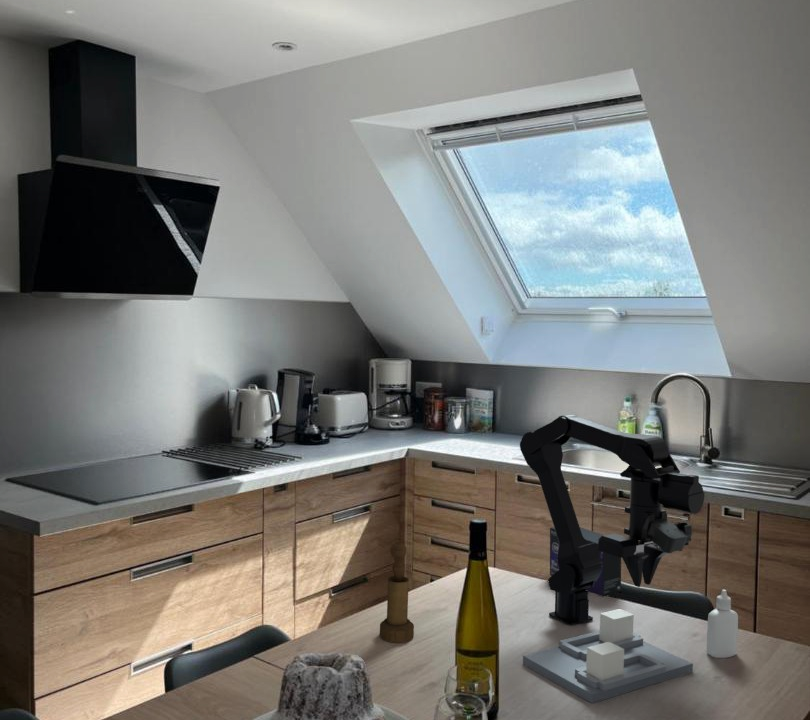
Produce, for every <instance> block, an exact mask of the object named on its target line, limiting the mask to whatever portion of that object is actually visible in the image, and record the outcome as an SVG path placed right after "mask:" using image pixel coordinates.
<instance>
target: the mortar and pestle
mask: <svg viewBox="0 0 810 720" xmlns="http://www.w3.org/2000/svg"><path fill="white" fill-rule="evenodd" d="M390 554H391V556H392V558H393V560H394V562H393V563H394V564H393V566H392V573H393V575H391V576H388V578H387V602H386V603H387V605H386V607H387V608H386V618H384V620H382V621H381V622H380V625H379V637H380V638H381V640H383V641H385V642H389V643H395V644H397V643H398V644H400V643H408V642H410V641H412V640H413V639H414V636H415V635H414V634H415V632H414V631H415V630H414V629H415V626H414V623H413V621H412V622H411V620H410V619H409V618H408V610H409V609H408V608H409V584H410V583H409V581H410V579H409V578H408V577H406V576H403V575H404V571H405V566H404V564H403V560H404V558H405V556H406V554H407V547H406V545H405V544H404V543H403V542H400V541H399V542H397V541H396V542H394V543H393V544H392V545H391V547H390Z"/></svg>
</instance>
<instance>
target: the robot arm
mask: <svg viewBox="0 0 810 720" xmlns="http://www.w3.org/2000/svg"><path fill="white" fill-rule="evenodd" d="M571 439H574V440H577V441H580V442H583V443H586V444H589V445H591V446H594V447H596V448H600V449H602V450H606V451H608V452H611V453H613V454H615V455H616V456H617V457H618V458H619V459H620V460H621V461H622V462H623V463H625V464H627V465H628V466H627V467H626V468H625V470H623V471H622V472H620V474H619V475H620V477H622V478H627V479H630V485H629V486H630V487H629V489H630V491H629V492H630V493H629V506H625V507H624V513H625V514H628V515H629V516H628V518H629V519H628V527H625V528H624V529H623V534H624V535H621V534H618V533H610V534H602V535H603V536H601V537H600V538H599V539H598V547H597V545H596V543H591V544H589V543H588V542H587V541H586V540H585V539H584V537H583V535H582V533H581V530H580V524H579V520H578V518H577V514H576V512H575V508H574V505H573V503H572V499H571V497H570V493H569V490H568V487H567V484H566V481H565V478H564V475H563V471H562V463H563V462H562V461H563V457H564V455H563V448H562V447H563V446H564V445H566V444H567V443H569V442H570V440H571ZM519 449H520V451H521V454H522V456H523V458H524V460H525V463H526V465H527V466H528V467H529V468H530V469H531V470H532V471H533V472H534V473H535V474H536V475H537V477H538V481H539V484H540V486H541V490H542V493H543V496H544V500H545V503H546V505H547V509H548V511H549V512H548V513H549V515H550V518H551V521H552V524H553V527H554V528H555V531H556V534H557V537H558V540H559V550H558V556H557V561H558V567H559V570H558V571H557V572H556V573H555V574H553V575H552V576H551V575H550V577H548V579H547V581H548V582H547V583H548V586H549V590H550V591H552V592H553V591H554V592H555V593H554V594H555V596H554V598H555V599H554V611H552V612H551V611H550V612H549V613H548V616H549V617H551V618H553V619H556V620H558V621H560V622H561V623H563V624H567V625H568V626H574V625H577V624H581V623H585V622H589V621H593V619H594V617H593V616H591V615H589V612H590V611H589V607H590V605H589V604H590V601H589V591H587V590H586V588H589V587H593V586H594V583H595V581H596V580H597V579H598V578H599V576H600V574H601V572H602V566H601V563H602V562H603V560H602V559H601V558H600V555H599V552H598V550H599V551H602V552H605V553H608V554H611V555H614V556H616V557H621V560H623V562H624V564H625V567H626V568H627V570H628V571H627V572H628V574H629V575H630V578H631V580H632V582H633V585H634V586H635V587H638V588H640V587H641V586H642V585H641V584H642V580H643V583H644V585H647V586H649V585H650V586H651V583H652V581H653V579H654V575H655V573H656V570H657V568H658V565H659V564H660V562H661V560H662V558H663V557H665V556H666V555H667V554H672V553H674V552H682V551H683V549H684V547H685V546H689V543H690V542H692V534H693V533H692V524H691V523H690V522H688V521H686V520H685V521H679V522H678V523H676V522H671V521H669V519H668V513H667V510H665V509H668V510H669V509H670V510H675V511H679V512H684V513H688V514H693V515H696V514H698V513H699V512H700V511H701V510H702V508H703V505H704V501H705V492H704V488H703V485H702V483H700V480H699V479H700V476H699V475H697V474H686V473H684V474H683V473H680V472H681V471H680V469H679V467H678V465H677V464H676V462H675V461H674V459H673V456H672V455H671V453H670V452H669V447H668V445H667V443H666V440H664V438H663V437H660V436H658V435H652V434H651V435H650V434H645V433H643V434H641V433H630V432H629V433H628V432H623V431H620V430H618V429H614V428H613V427H609V426H606V425H602V424H600V423H596V422H594V421H590V420H588V419H585V418H582V417H580V416H578V415H576V414H572V413H571V414H565V415H564V414H563V415H559V416H558V417H556V418H555V419H554V420H552V421H551V422H549V423H547V424H545V425H543V426H541V427H539V428H537V429H536V430H533V431H528V432H526V433H524V434H523V435H522V437H521V441H520V442H519ZM662 507H663V508H665V509H662ZM625 535H627V536H625ZM642 578H643V579H642Z"/></svg>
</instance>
